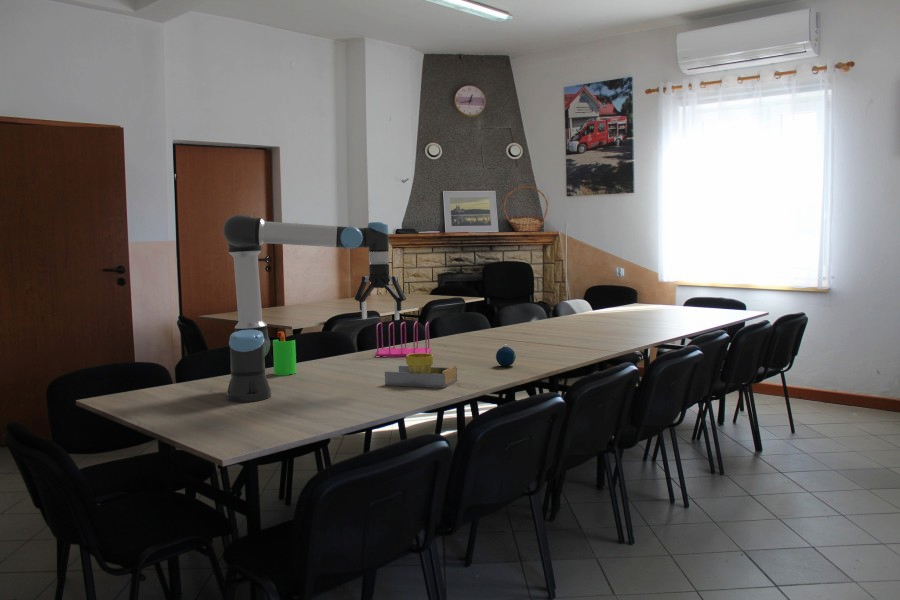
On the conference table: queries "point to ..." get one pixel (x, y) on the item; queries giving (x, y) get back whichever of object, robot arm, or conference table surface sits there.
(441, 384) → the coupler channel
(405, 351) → the file sorter
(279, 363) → the green cylindrical container
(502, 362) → the christmas ornament
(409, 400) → the conference table surface
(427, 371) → the plant pot
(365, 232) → the robot arm
